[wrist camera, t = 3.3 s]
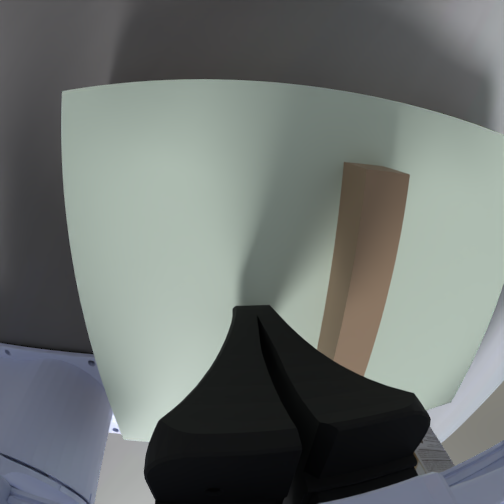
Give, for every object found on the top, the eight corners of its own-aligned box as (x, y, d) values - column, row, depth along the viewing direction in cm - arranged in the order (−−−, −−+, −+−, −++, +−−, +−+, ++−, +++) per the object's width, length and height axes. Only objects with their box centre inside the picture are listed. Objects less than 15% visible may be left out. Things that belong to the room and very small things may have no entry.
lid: (125, 429, 15) (119, 464, 13) (71, 92, 9) (37, 86, 7) (445, 394, 18) (463, 419, 16) (521, 144, 12) (556, 152, 9)
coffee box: (359, 465, 27) (407, 584, 12) (316, 459, 25) (361, 602, 11) (423, 410, 25) (497, 535, 10) (386, 399, 23) (469, 555, 8)
